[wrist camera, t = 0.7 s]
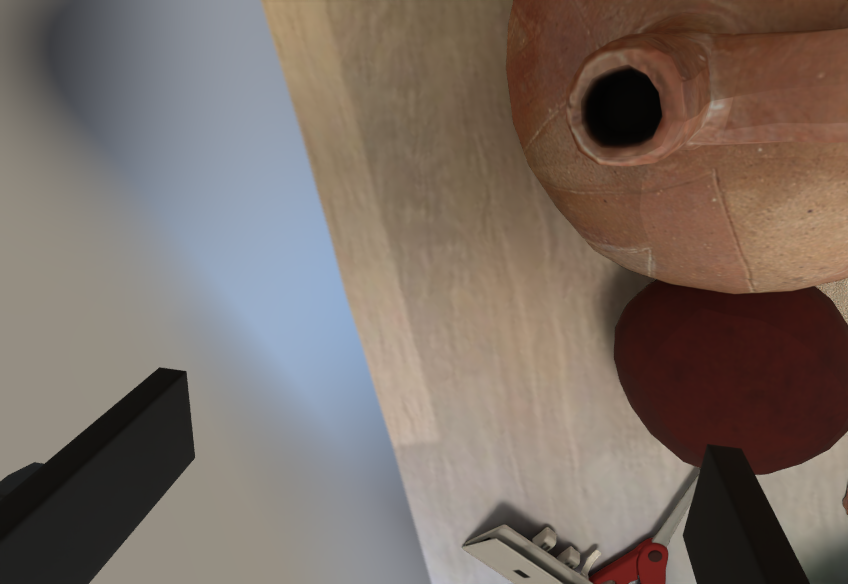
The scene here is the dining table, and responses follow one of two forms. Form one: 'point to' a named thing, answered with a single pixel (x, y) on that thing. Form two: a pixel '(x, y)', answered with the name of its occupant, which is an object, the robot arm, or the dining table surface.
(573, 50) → the jug
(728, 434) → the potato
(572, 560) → the figurines set
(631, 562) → the scissors
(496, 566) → the laptop
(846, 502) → the figurine
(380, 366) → the dining table surface
